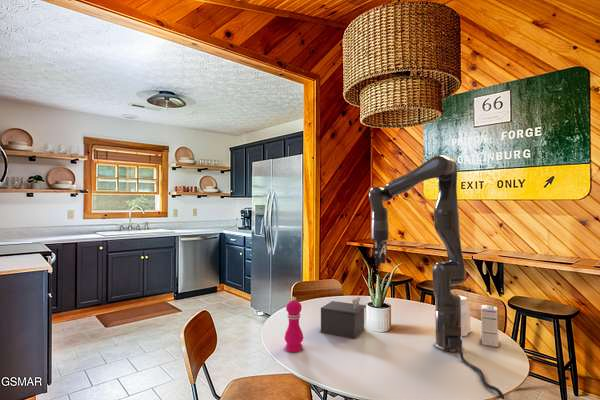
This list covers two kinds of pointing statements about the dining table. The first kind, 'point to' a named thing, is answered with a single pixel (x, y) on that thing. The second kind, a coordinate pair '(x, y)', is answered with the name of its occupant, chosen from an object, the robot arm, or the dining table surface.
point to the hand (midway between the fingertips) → (380, 264)
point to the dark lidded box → (342, 323)
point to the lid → (344, 306)
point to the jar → (465, 317)
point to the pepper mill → (293, 327)
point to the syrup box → (489, 325)
